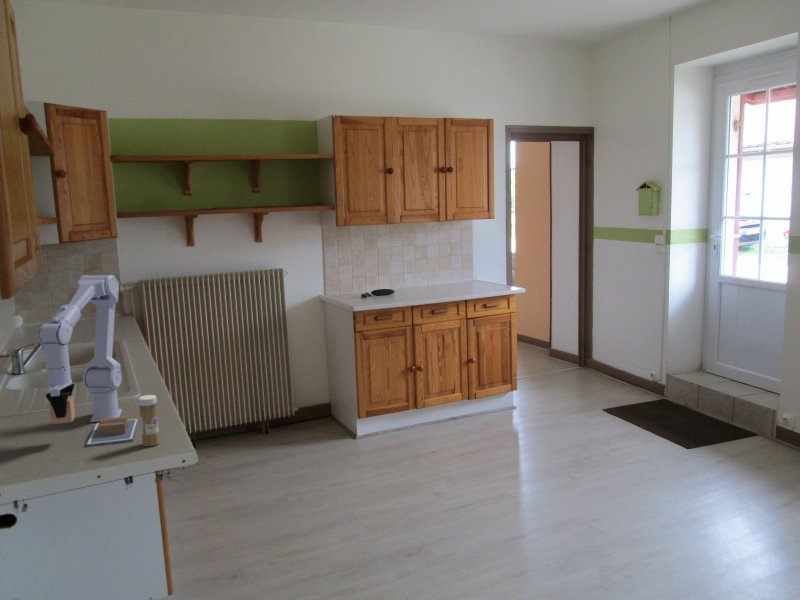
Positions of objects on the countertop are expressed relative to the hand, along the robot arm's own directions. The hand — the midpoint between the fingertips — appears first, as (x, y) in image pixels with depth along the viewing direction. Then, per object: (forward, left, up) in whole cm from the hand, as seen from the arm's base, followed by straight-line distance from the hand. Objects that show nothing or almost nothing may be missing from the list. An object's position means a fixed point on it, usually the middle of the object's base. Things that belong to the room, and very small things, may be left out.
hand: (63, 414), depth 182 cm
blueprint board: (-3, +12, -8) cm, 15 cm away
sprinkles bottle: (+10, +23, -8) cm, 26 cm away
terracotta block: (0, 0, -2) cm, 2 cm away
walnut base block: (-3, +12, -8) cm, 15 cm away
